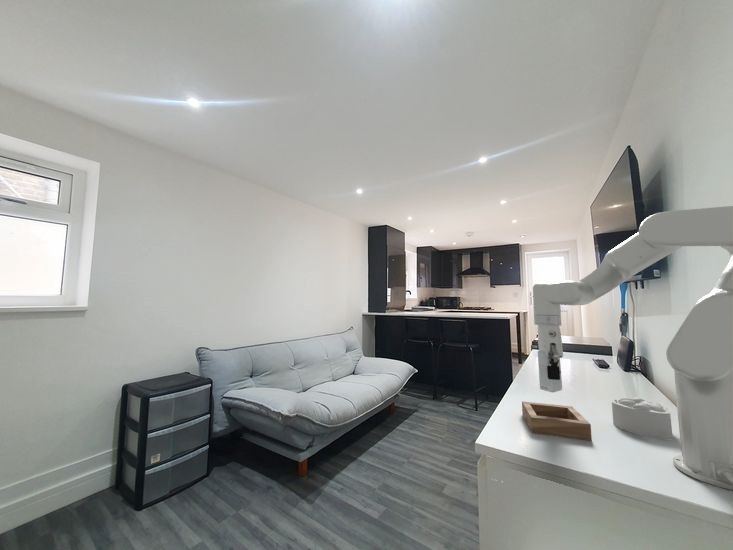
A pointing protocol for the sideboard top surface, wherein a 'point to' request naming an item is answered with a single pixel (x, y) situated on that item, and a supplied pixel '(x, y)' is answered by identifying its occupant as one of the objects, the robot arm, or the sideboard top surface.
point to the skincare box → (547, 383)
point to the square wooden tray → (556, 420)
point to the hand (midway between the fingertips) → (550, 375)
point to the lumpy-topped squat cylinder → (642, 417)
